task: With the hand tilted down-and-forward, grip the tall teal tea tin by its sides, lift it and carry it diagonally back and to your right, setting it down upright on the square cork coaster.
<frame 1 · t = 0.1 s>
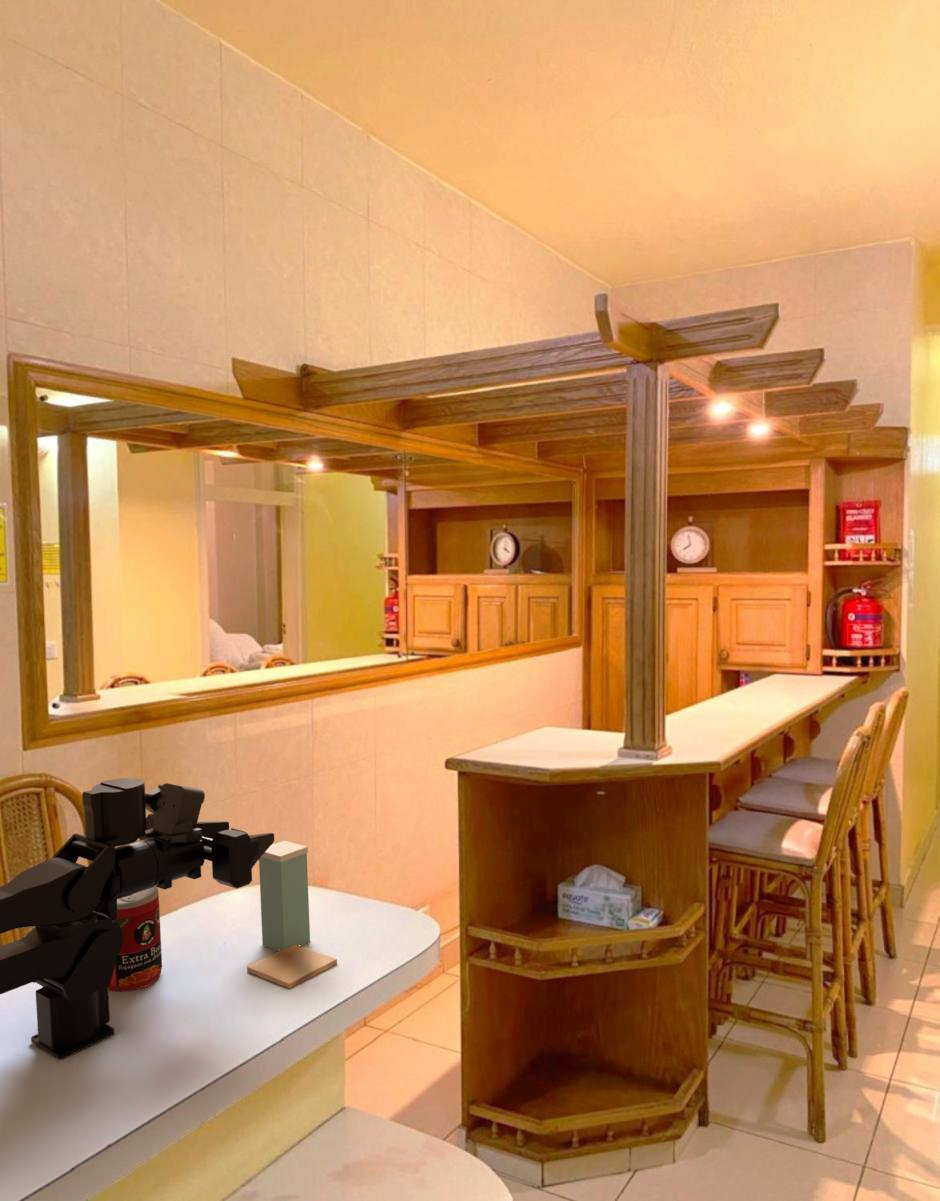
hand: (250, 831, 120), 17 cm above the table, tool horizontal, fingers open, 9 cm apart
tea tin: (286, 943, 125), on the table
coaster: (292, 967, 117), on the table
canned food: (130, 979, 116), on the table
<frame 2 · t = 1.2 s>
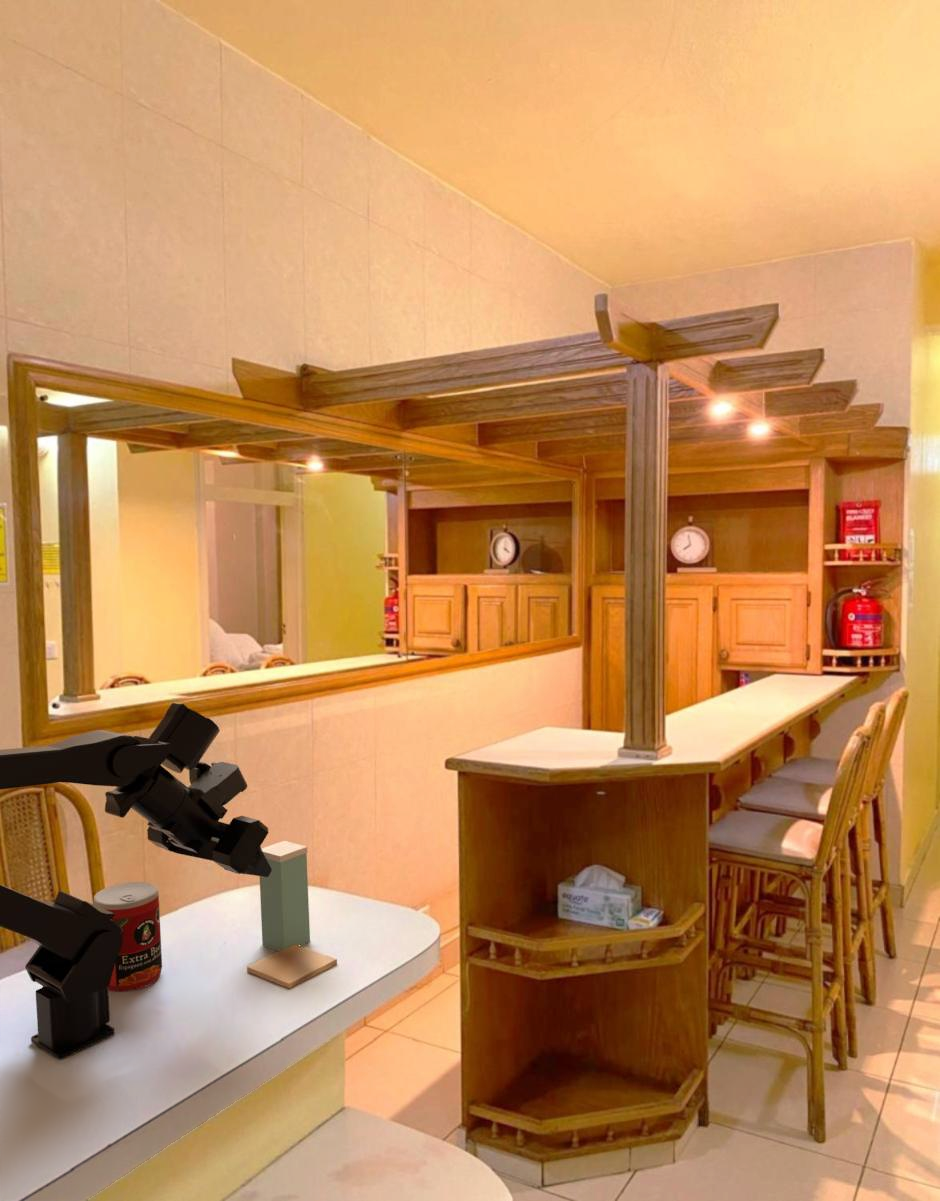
hand: (247, 866, 119), 12 cm above the table, tool tilted 45°, fingers open, 9 cm apart
nothing on the table moved.
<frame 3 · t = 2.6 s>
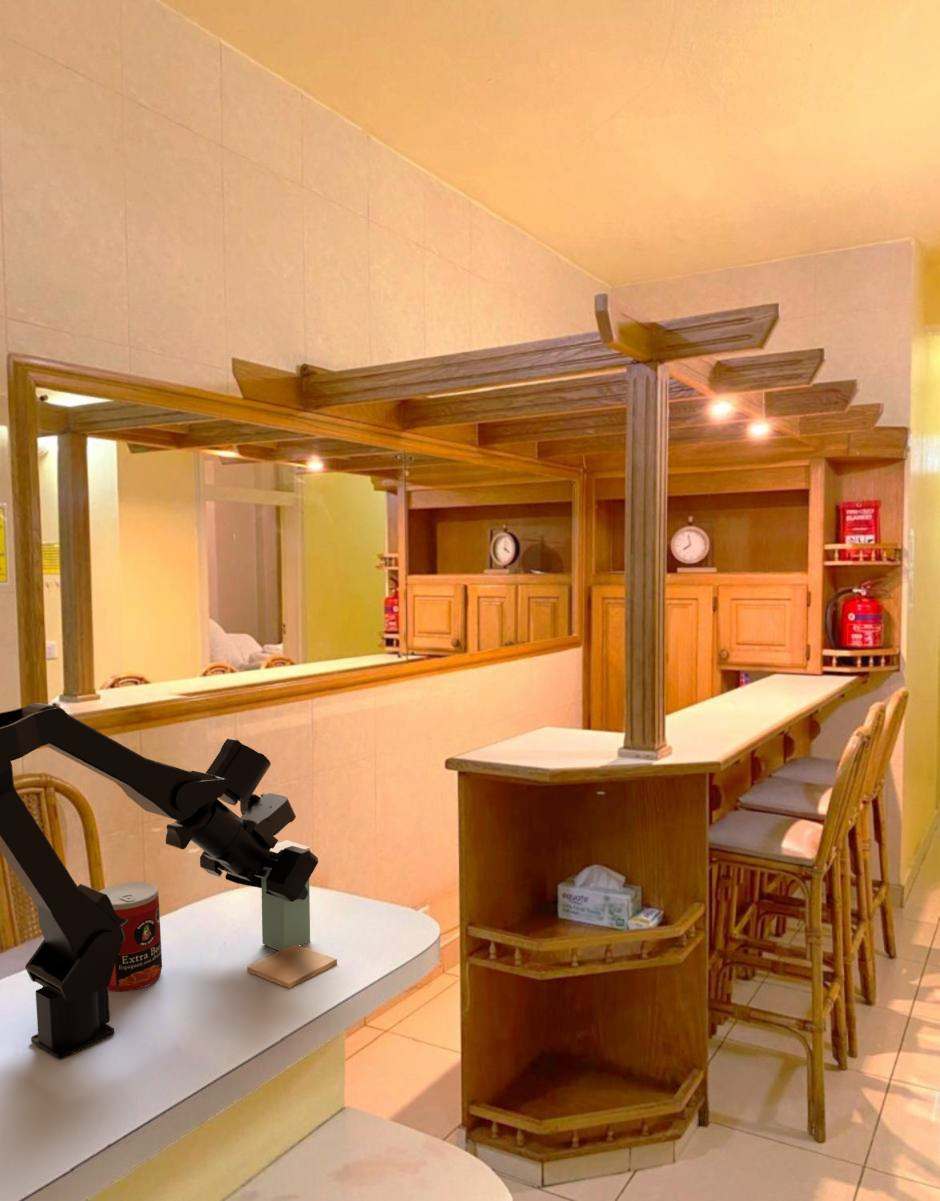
hand: (294, 892, 125), 7 cm above the table, tool tilted 45°, fingers closed on tea tin, 5 cm apart
tea tin: (286, 942, 125), on the table, touching gripper
everything else where it was.
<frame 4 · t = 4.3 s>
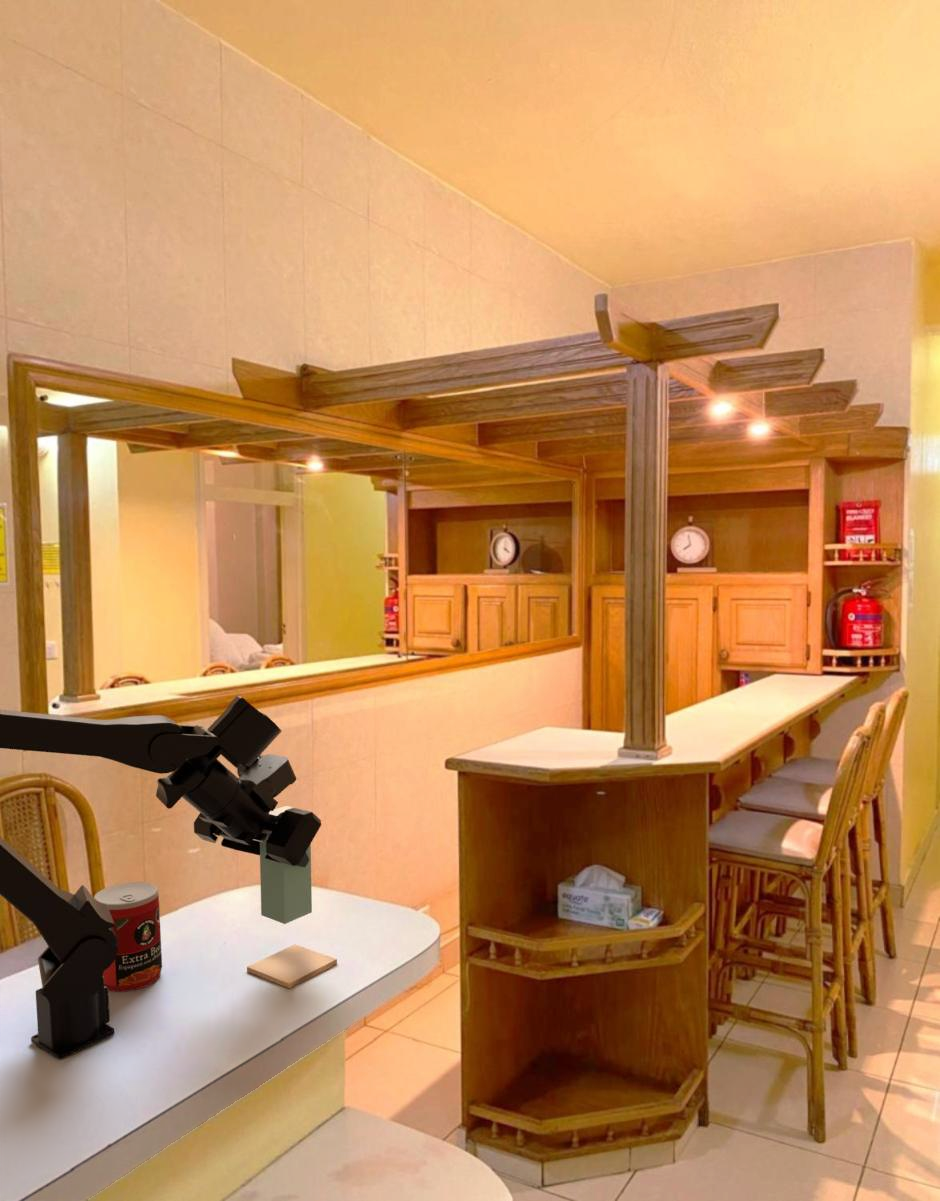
hand: (293, 859, 118), 13 cm above the table, tool tilted 45°, fingers closed on tea tin, 5 cm apart
tea tin: (286, 913, 117), point 7 cm above the table, touching gripper
everything else where it was.
when the fingers open (8 cm above the table, at t = 5.6 s): tea tin stays where it is, resting on coaster.
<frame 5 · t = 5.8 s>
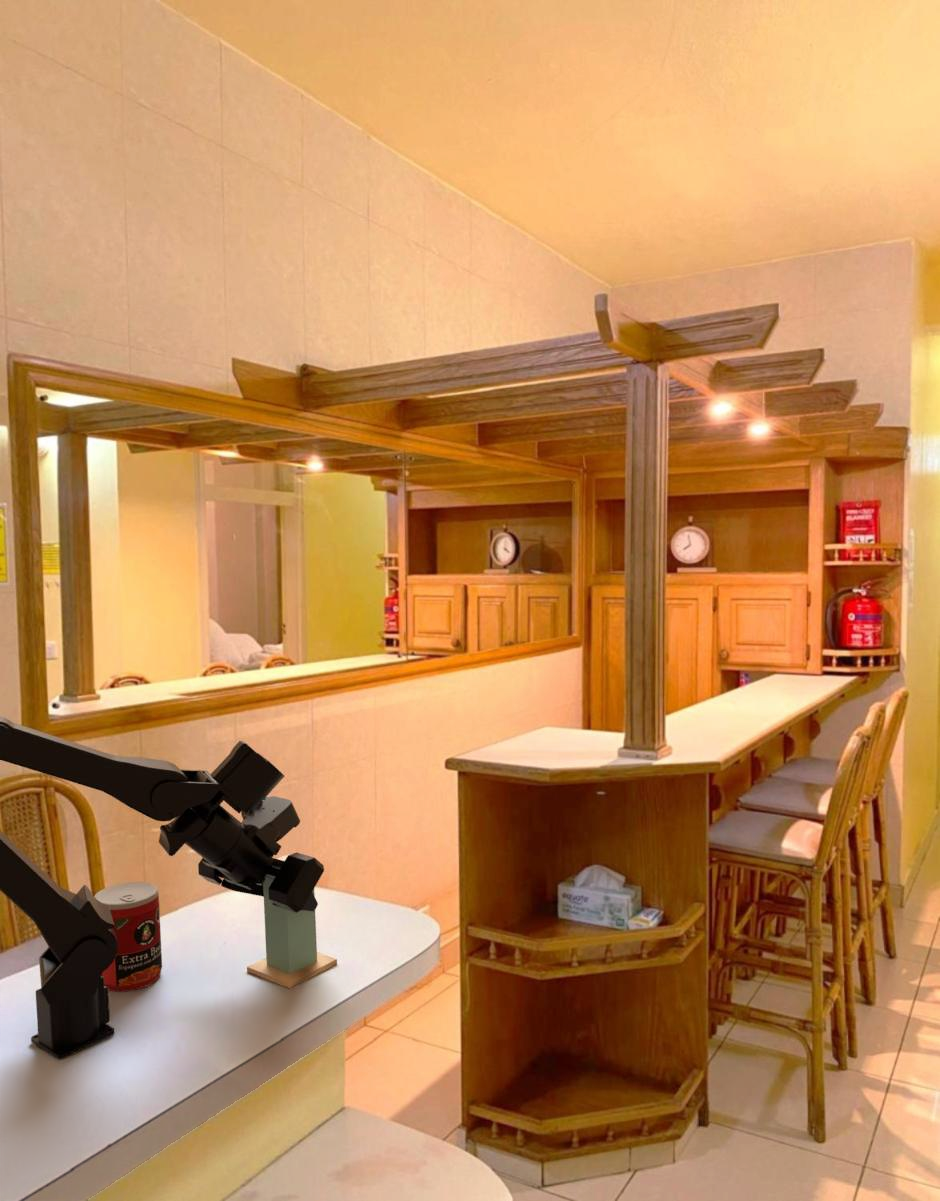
hand: (298, 901, 118), 8 cm above the table, tool tilted 45°, fingers open, 6 cm apart
tea tin: (292, 963, 117), point 1 cm above the table, touching coaster
everything else where it was.
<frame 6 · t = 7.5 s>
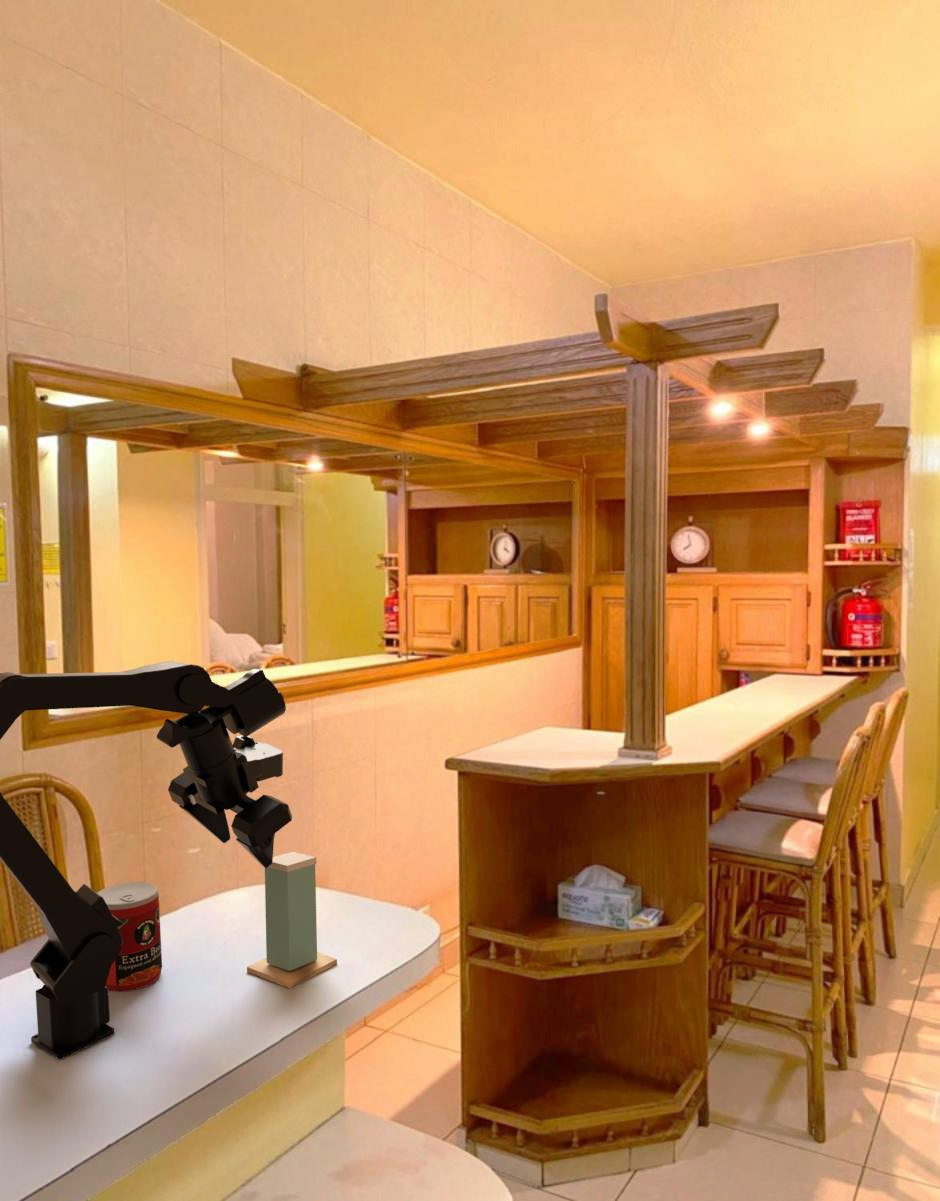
hand: (247, 852, 119), 14 cm above the table, tool tilted 25°, fingers open, 9 cm apart
nothing on the table moved.
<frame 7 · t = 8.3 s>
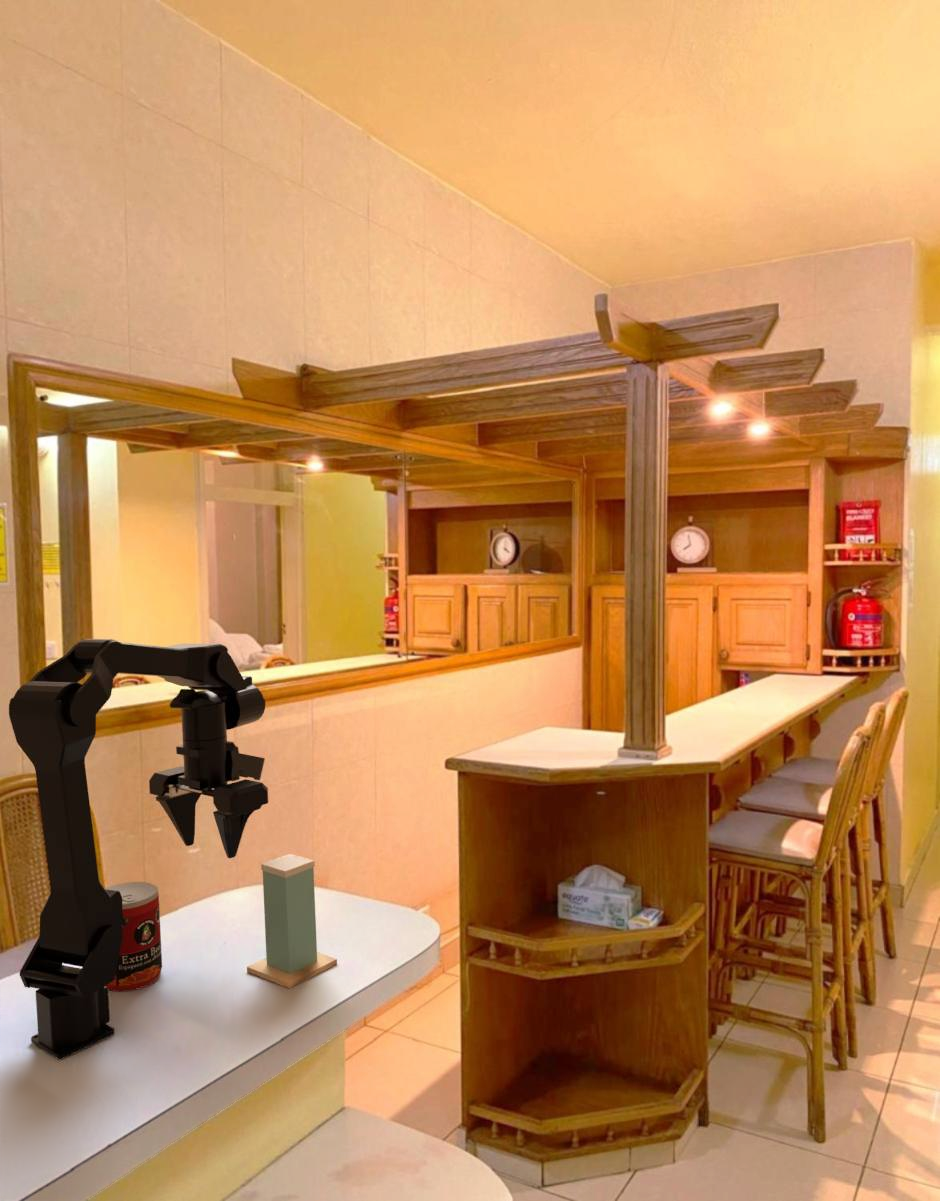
hand: (210, 851, 124), 13 cm above the table, tool pointing down, fingers open, 9 cm apart
nothing on the table moved.
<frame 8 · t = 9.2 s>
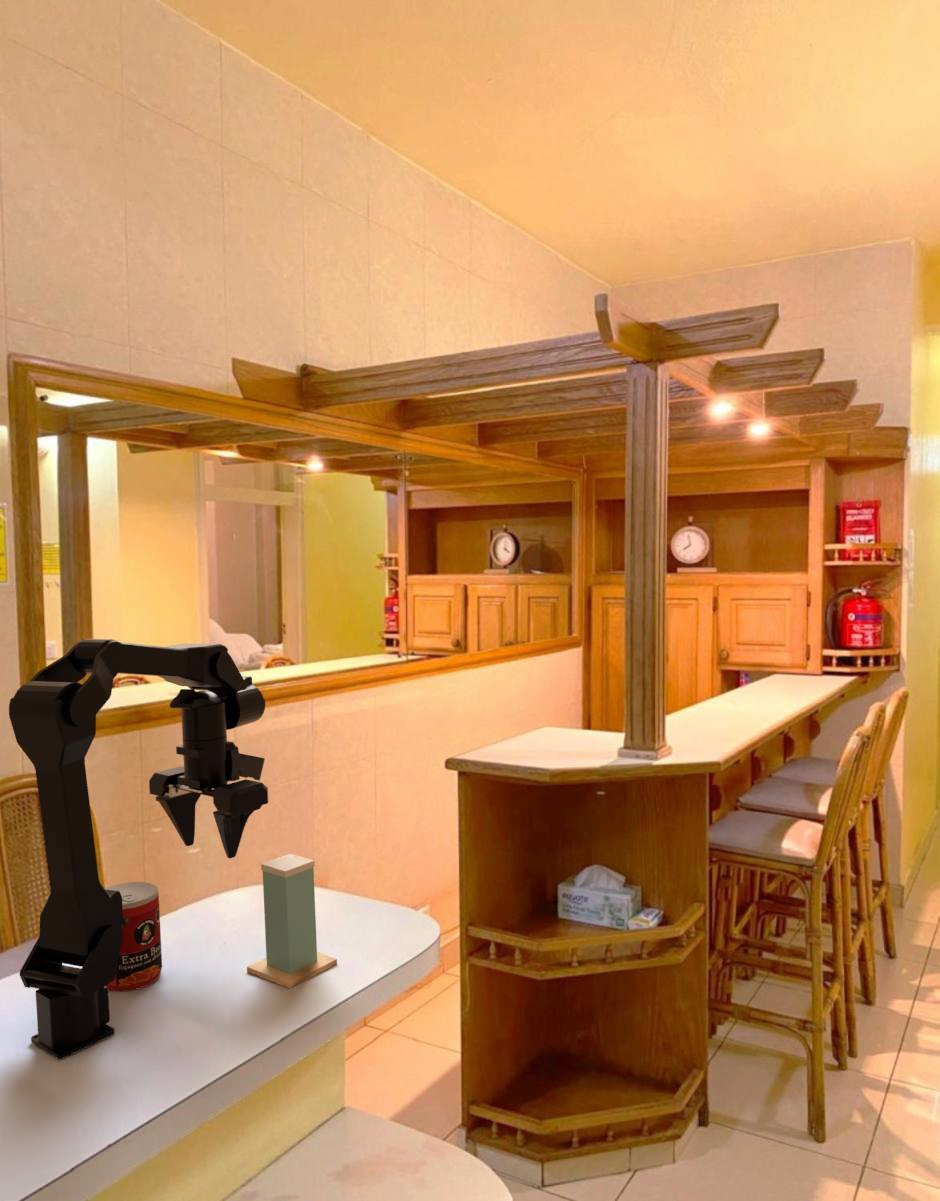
hand: (210, 851, 124), 13 cm above the table, tool pointing down, fingers open, 9 cm apart
nothing on the table moved.
at the end: tea tin inside the target area on the coaster (0.0 cm from its centre), point 0.6 cm above the coaster's base; tea tin tilted 0°; the gripper is holding nothing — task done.
